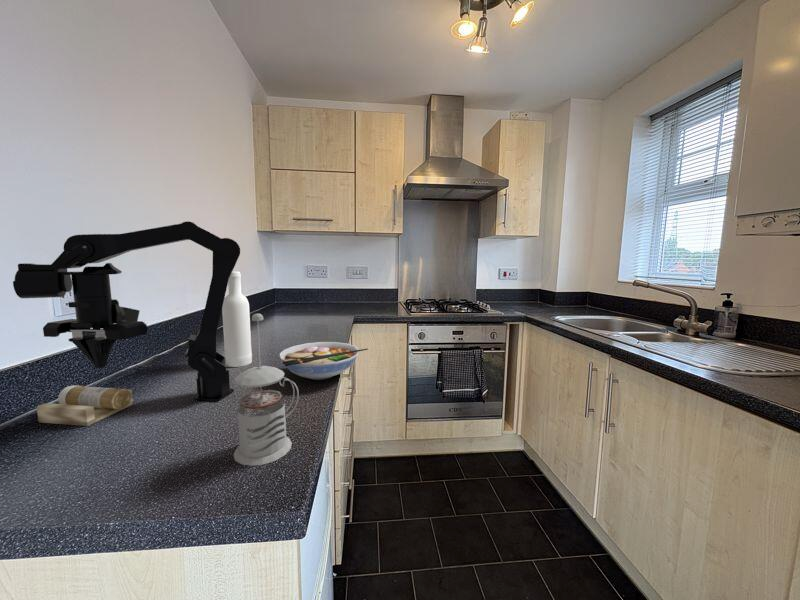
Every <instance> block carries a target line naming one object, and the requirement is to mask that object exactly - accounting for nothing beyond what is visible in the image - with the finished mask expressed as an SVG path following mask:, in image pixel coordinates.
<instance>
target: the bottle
mask: <svg viewBox="0 0 800 600" xmlns="http://www.w3.org/2000/svg"><path fill="white" fill-rule="evenodd" d="M241 278H242V275H241V271H234V270H233V271H232V273H231V275H230V277H229V280H228V285H227V290H228V294H227V295H225V298H224V302H223V307H222V311H221V314H222V315H221V316H222V327H223V328H222V329H223V330H222V331H223V344H224V345H223V347H224V357H225V358H226V367H229V368H240V367H241V368H242V367H246V366H249V365H250V364H251V363H252V362H253V352H252V335H251V334H252V333H251V318H250V317H251V313H250V303H249V300H248V298H247V297H246V296H245V295H244V294H243V293H242V279H241Z"/></svg>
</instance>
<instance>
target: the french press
mask: <svg viewBox="0 0 800 600" xmlns="http://www.w3.org/2000/svg"><path fill="white" fill-rule="evenodd" d="M263 320H264V316H263V314H261V313H254V314H252V316H251V321H252V322H256V324H257V343H258V344H257V345H258V346H257V347H258V364H259V366H254V367H251V368H249V369H246V370H245V371H243V372H241V373H240V374H238V375H237V376H236V377H235V378H234V382H235V384H236V385H237V386H239V387H242V388H250V389H251V388H260V390H256V391H253V392H250V393H247V394H245V395H244V396H241V398H240V399H239V401H238V403H239V406H238V408H237V425H238V440H239V442H238V443H239V445H238V446H237V448H236V449H235V451H234V453H233V459H234V461H235V462H237V463H238V464H240V465H244V466H249V467H250V466H251V467H253V466H261V465H266V464H269V463H273V462H275V461H277V460H279V459H281V458H282V457H284V456H286V455H287V454H288V452H290V450H291V449H292V444H293V442H292V441H291V439H290V437H288V436H287V421H286V419H287V418H288V417H289V416H290V415H291V414H292V413H293V412H294V411H295V409H296V408H297V405H298V402H299V397H300V395H299V394H300V393H299V387H298V386H297V384H296V383H295V381H293V380H291V379H289V378H288V377H286V376H285V372H284V371H283V370H282V369H279V368H277V367H275V366H269V365H268V366H267V365H261V364H262V363H261V348H260V324H259V323H260V322H261V321H263ZM282 380H283V381H282ZM281 381H282V382H281ZM286 381H288V382H289V383H290V385H291V387H292V390H293V391H292V393H293V394H292V400H291V402H290V405H288V407H287V408H286V405H285V401H284V400H283V401H282V398H283V394H282V392H281V391H277V390H275V389H273V390H272V389H268V390H266V389H264V390H263V389H262V388H263V387H267V386H272V385H274V384H277V383H279V385H280V387H285V382H286ZM295 389H296V390H295ZM295 391H296V392H295ZM295 393H296V395H295ZM295 396H296V402H295V406H294V407H292V410H291V411H290V412H288V413H287V415H286V412H287V411H288V410H289V409H290V407H291V406H292V405H293V402H294V398H295ZM250 409H251V410H250ZM249 410H250V411H249ZM260 410H261V411H262V410H265V411H269V412H271V413H269V412H259V411H260ZM248 411H249V412H248ZM247 412H248V413H247ZM256 412H258V413H256ZM246 413H247V414H246ZM253 413H255V414H253ZM245 414H246V415H245ZM267 424H268V425H267ZM250 430H251V431H250Z"/></svg>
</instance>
